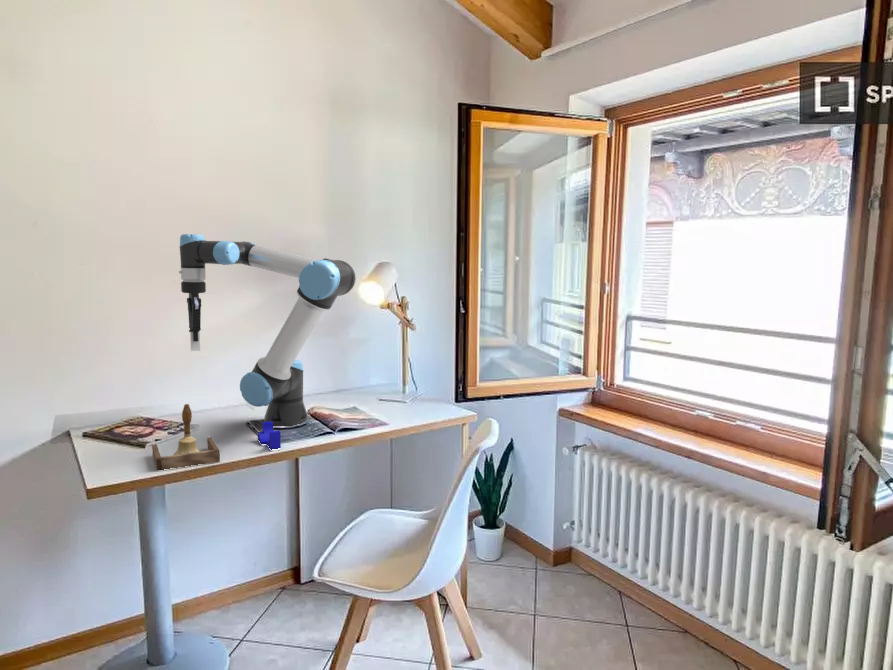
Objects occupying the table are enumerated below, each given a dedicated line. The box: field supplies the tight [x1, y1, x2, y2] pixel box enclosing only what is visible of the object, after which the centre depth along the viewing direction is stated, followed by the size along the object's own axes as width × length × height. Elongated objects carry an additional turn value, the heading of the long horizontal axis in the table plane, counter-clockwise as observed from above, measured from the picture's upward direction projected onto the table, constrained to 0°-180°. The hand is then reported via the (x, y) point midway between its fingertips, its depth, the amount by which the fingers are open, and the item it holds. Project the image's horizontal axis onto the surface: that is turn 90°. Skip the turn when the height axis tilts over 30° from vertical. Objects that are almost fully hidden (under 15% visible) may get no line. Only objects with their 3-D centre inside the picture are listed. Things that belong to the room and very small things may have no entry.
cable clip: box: [257, 421, 282, 450], centre depth 186 cm, size 12×4×6 cm, turn 29°
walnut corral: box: [151, 436, 221, 471], centre depth 171 cm, size 16×13×4 cm
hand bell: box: [173, 403, 201, 455], centre depth 172 cm, size 8×8×16 cm
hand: (195, 350), depth 199 cm, fingers closed
